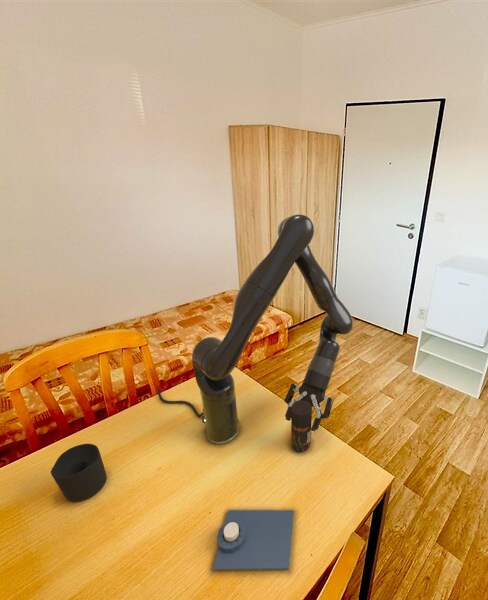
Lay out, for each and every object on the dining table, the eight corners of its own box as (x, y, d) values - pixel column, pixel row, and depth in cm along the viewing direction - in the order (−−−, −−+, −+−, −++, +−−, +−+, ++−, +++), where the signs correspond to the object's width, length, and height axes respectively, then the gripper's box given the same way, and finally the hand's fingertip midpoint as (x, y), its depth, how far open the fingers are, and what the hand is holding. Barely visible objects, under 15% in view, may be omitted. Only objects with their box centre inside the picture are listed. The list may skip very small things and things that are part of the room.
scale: (210, 571, 67) (209, 564, 66) (226, 512, 78) (225, 506, 77) (288, 570, 68) (288, 564, 67) (293, 512, 79) (293, 506, 78)
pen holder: (117, 478, 84) (107, 453, 79) (77, 511, 76) (65, 484, 72) (94, 463, 87) (84, 438, 83) (55, 493, 79) (41, 467, 75)
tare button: (222, 542, 70) (221, 537, 69) (226, 526, 73) (225, 522, 72) (237, 542, 70) (236, 537, 70) (240, 526, 73) (240, 522, 73)
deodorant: (307, 454, 94) (308, 417, 87) (288, 450, 95) (288, 412, 88) (312, 438, 99) (314, 402, 93) (294, 434, 100) (295, 398, 94)
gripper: (343, 381, 98) (325, 434, 93) (303, 367, 103) (284, 417, 98) (337, 377, 91) (317, 435, 87) (295, 362, 96) (274, 416, 92)
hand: (300, 425), depth 93 cm, fingers open, 8 cm apart
